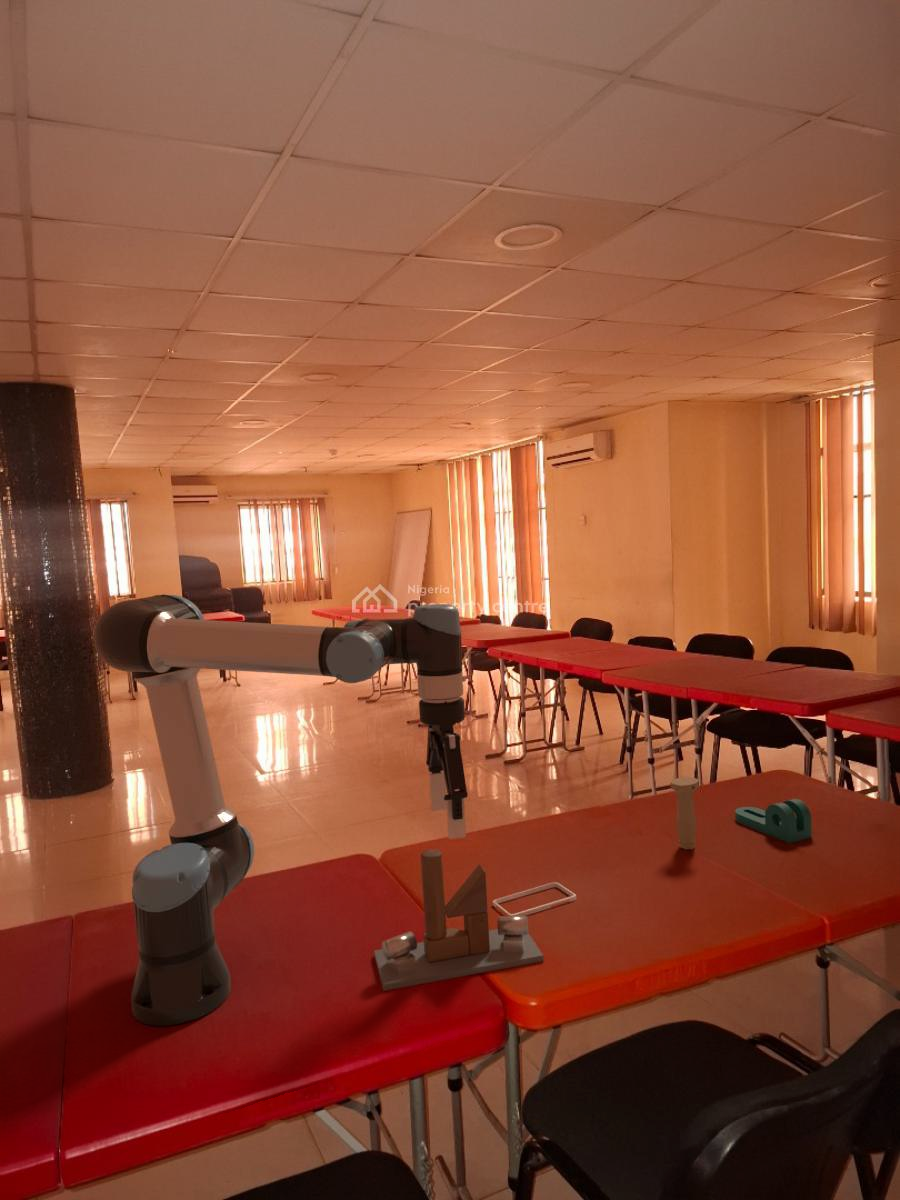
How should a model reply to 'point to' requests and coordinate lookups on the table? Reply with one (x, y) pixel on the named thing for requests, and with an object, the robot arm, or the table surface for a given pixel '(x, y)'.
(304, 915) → the table surface
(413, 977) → the plate
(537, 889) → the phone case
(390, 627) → the robot arm
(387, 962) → the grey block
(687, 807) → the handle
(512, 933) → the grey knob
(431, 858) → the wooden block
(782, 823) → the bracket
